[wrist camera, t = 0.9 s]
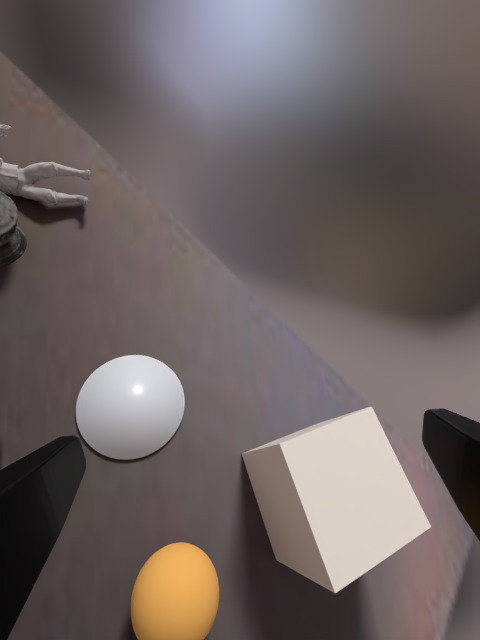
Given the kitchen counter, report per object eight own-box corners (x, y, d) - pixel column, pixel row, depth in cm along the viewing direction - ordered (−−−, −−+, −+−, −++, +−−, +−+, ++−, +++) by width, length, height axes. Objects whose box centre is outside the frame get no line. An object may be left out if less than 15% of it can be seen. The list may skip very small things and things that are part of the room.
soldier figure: (85, 235, 30) (-93, 201, 23) (79, 236, 34) (-75, 207, 27) (93, 151, 29) (-91, 88, 22) (86, 161, 33) (-73, 111, 26)
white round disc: (179, 460, 23) (180, 460, 23) (63, 459, 21) (63, 458, 21) (187, 360, 27) (188, 359, 27) (89, 351, 25) (89, 350, 25)
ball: (208, 630, 19) (227, 671, 15) (124, 641, 18) (121, 690, 14) (211, 535, 22) (229, 547, 18) (137, 538, 21) (137, 553, 16)
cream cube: (353, 514, 25) (431, 527, 19) (276, 559, 22) (335, 593, 16) (315, 424, 28) (371, 406, 21) (241, 453, 25) (279, 443, 18)
